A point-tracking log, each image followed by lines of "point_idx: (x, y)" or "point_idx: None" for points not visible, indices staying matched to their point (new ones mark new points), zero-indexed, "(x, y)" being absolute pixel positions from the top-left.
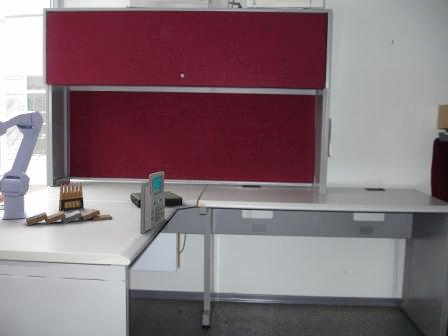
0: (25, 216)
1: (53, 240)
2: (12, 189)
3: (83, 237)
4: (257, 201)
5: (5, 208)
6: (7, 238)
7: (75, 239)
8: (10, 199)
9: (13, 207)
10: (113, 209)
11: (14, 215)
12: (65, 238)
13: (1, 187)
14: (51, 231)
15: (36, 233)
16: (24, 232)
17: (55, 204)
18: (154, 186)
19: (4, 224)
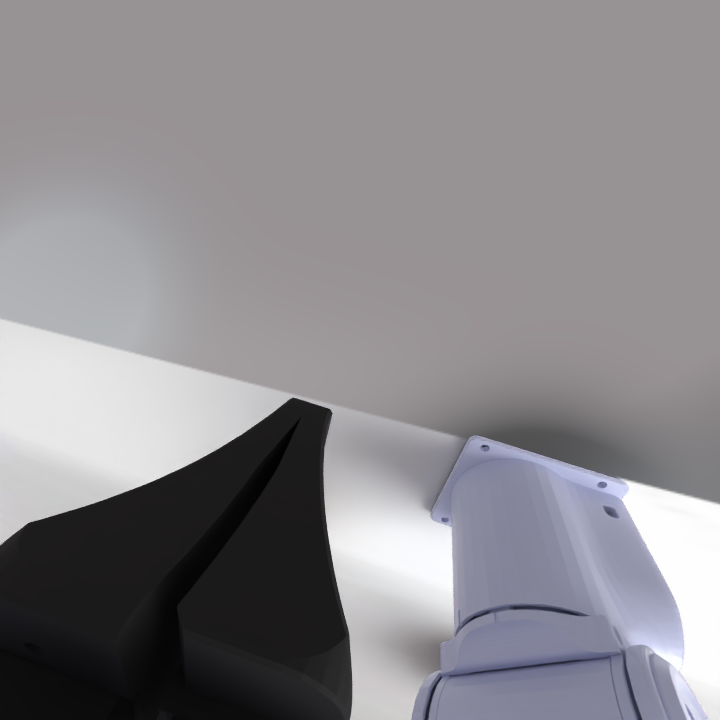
0: (449, 525)
1: (5, 443)
2: (470, 706)
3: (34, 507)
4: None
5: (504, 506)
6: (45, 340)
7: (13, 486)
8: (470, 589)
9: (456, 538)
10: (401, 715)
11: (453, 495)
12: (27, 474)
13: (611, 717)
14: (128, 483)
15: (108, 441)
16: (135, 417)
17: (713, 709)
18: None
19: (338, 406)
